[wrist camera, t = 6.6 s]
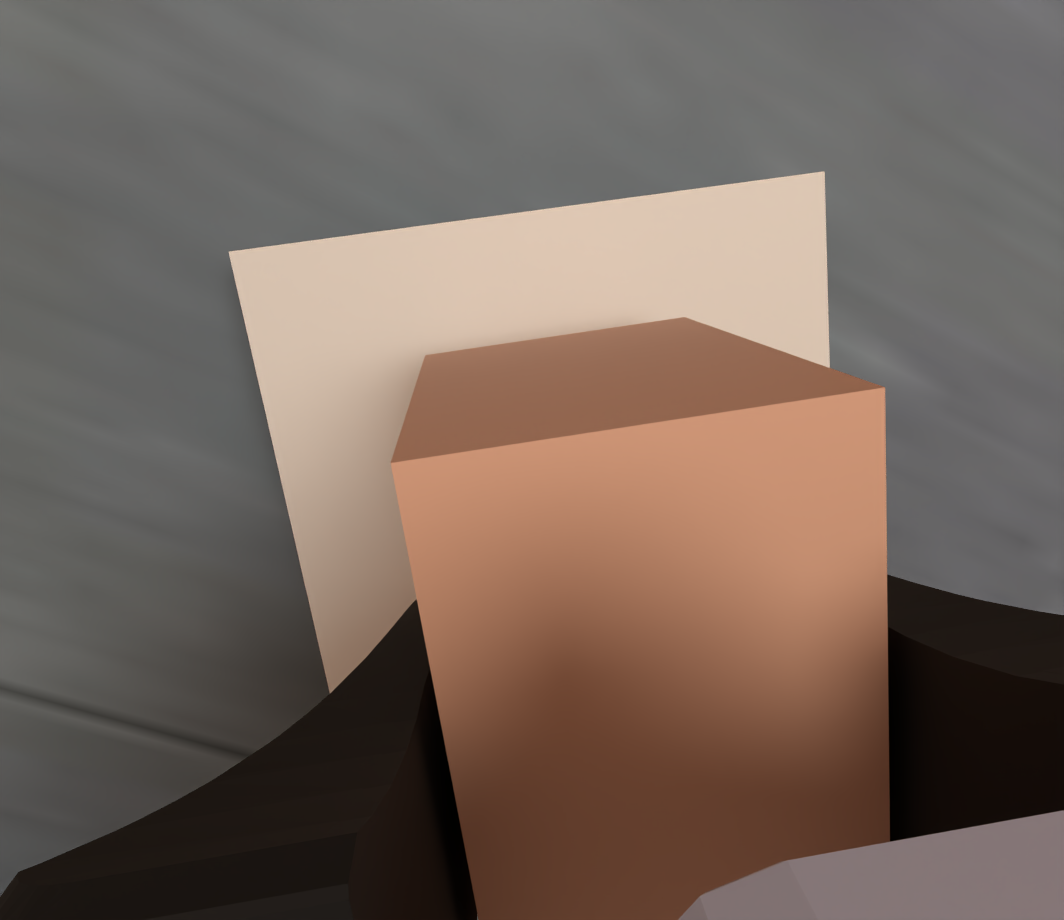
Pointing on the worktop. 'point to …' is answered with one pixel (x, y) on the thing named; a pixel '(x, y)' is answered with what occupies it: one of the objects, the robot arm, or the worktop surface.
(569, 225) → the base block
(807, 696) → the terracotta brick
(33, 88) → the worktop surface
